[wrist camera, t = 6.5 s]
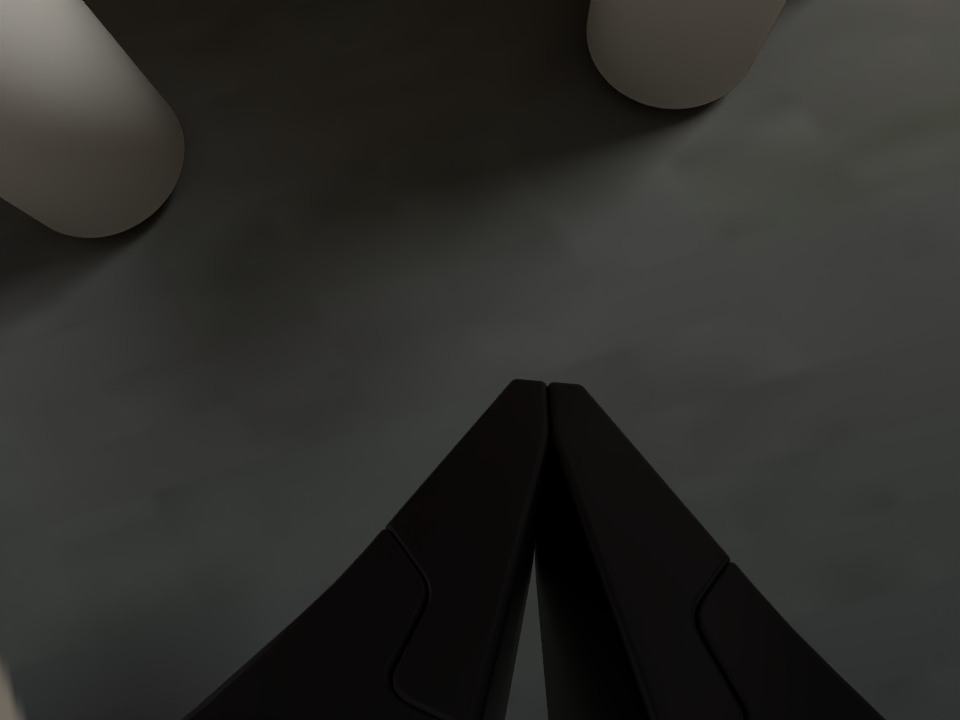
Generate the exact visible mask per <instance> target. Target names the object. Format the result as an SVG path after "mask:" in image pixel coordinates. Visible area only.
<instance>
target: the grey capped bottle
mask: <svg viewBox="0 0 960 720" xmlns="http://www.w3.org/2000/svg"><path fill="white" fill-rule="evenodd" d="M184 154H185V144H184V136H183V131H182V128H181V125H180V122H179V120H178V118H177V116H176V114H175V113H174V111H173V110H172V108H171V107H170V106H169V105H168V103H167V102H166V101H165V100H164V98H163V97H162V96H161V95H160V94H159V92H158V91H157V90H156V89H155V88H154V86H153V85H152V84H151V83H150V82H149V80H148V79H147V78H146V77H145V75H144V74H143V73H142V72H141V71H140V69H139V68H138V67H137V66H136V65H135V63H134V62H133V61H132V60H131V59H130V57H129V56H128V55H127V54H126V52H125V51H124V50H123V49H122V48H121V46H120V45H119V44H118V43H117V42H116V40H115V39H114V38H113V37H112V36H111V34H110V33H109V32H108V31H107V29H106V28H105V27H104V26H103V25H102V23H101V22H100V21H99V20H98V19H97V17H96V16H95V15H94V14H93V12H92V11H91V10H90V9H89V8H88V6H87V5H86V4H85V3H84V2H83V0H0V197H1V198H2V199H4V200H5V201H7V202H9V203H10V204H12V205H13V206H15V207H17V208H18V209H20V210H21V211H23V212H25V213H26V214H28V215H29V216H31V217H33V218H34V219H36V220H37V221H39V222H41V223H42V224H44V225H45V226H47V227H49V228H51V229H52V230H54V231H57V232H59V233H62V234H65V235H69V236H73V237H81V238H98V237H105V236H110V235H114V234H117V233H120V232H123V231H125V230H128V229H130V228H132V227H134V226H136V225H138V224H139V223H141V222H143V221H144V220H145V219H147V218H148V217H150V216H151V215H152V214H153V213H154V212H155V211H156V210H157V209H159V208H160V206H161V205H162V204H163V203H164V202H165V201H166V200H167V198H168V197H169V195H170V194H171V192H172V191H173V189H174V187H175V185H176V183H177V181H178V179H179V176H180V174H181V171H182V167H183V162H184Z"/></svg>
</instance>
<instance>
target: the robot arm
mask: <svg viewBox="0 0 960 720" xmlns="http://www.w3.org/2000/svg"><path fill="white" fill-rule="evenodd" d="M534 551H535V570H536V585H537V596H538V607H539V619H540V630H541V641H542V653H543V664H544V675H545V687H546V698H547V709H548V720H886V719H885V718H884V717H883V716H881V715H880V714H879V713H878V712H877V711H876V710H875V709H874V708H873V707H872V706H871V705H870V704H869V703H868V702H867V701H866V700H865V699H864V698H863V697H862V696H861V695H860V694H859V693H858V692H857V691H856V690H854V689H853V688H852V687H851V686H850V685H849V684H848V683H847V682H846V681H845V680H844V679H843V678H842V677H841V676H840V675H839V674H838V673H837V672H836V671H835V670H834V669H833V668H832V667H831V666H830V665H829V664H828V663H827V662H826V661H825V660H824V659H823V658H822V657H821V656H820V655H819V654H818V653H817V652H816V651H815V650H814V649H813V648H812V647H811V646H810V645H809V644H808V643H807V642H806V641H805V640H804V639H803V638H802V637H801V636H800V635H799V634H798V633H797V632H796V631H795V630H794V629H793V628H792V627H791V626H790V625H789V624H788V623H787V621H786V620H785V619H784V618H783V617H782V616H781V615H780V614H779V613H778V612H777V610H776V609H775V608H774V607H773V606H772V605H771V604H770V603H769V602H768V600H767V599H766V598H765V597H764V596H763V595H762V594H761V593H760V592H759V591H758V589H757V588H756V587H755V586H754V585H753V584H752V583H751V581H750V580H749V579H748V578H747V577H746V576H745V574H744V573H743V572H742V571H741V570H740V569H739V567H738V566H737V565H736V564H735V563H733V562H731V563H730V558H729V556H728V555H727V554H726V553H725V551H724V550H723V549H722V548H721V547H720V546H719V544H718V543H717V542H716V541H715V540H714V539H713V537H712V536H711V535H710V534H709V533H708V532H707V530H706V529H705V528H704V527H703V526H702V525H701V523H700V522H699V521H698V520H697V519H696V518H695V516H694V515H693V514H692V513H691V512H690V511H689V509H688V508H687V507H686V506H685V505H684V504H683V502H682V501H681V500H680V499H679V498H678V497H677V495H676V494H675V493H674V492H673V491H672V490H671V488H670V487H669V486H668V485H667V484H666V483H665V481H664V480H663V479H662V478H661V477H660V476H659V474H658V473H657V472H656V471H655V470H654V469H653V467H652V466H651V465H650V464H649V463H648V462H647V460H646V459H645V458H644V457H643V456H642V455H641V453H640V452H639V451H638V450H637V449H636V448H635V446H634V445H633V444H632V443H631V442H630V441H629V439H628V438H627V437H626V436H625V435H624V434H623V432H622V431H621V430H620V429H619V428H618V427H617V425H616V424H615V423H614V422H613V421H612V420H611V418H610V417H609V416H608V415H607V414H606V413H605V411H604V410H603V409H602V408H601V407H600V406H599V404H598V403H597V402H596V401H595V400H594V399H593V397H592V396H591V395H590V394H589V393H588V392H587V390H586V389H585V388H584V387H583V386H581V385H579V384H569V383H557V382H552V383H550V384H549V385H548V386H547V385H546V384H545V383H544V382H542V381H534V380H523V379H515V380H512V381H511V382H510V383H509V385H508V386H507V387H506V388H505V389H504V390H503V392H502V393H501V394H500V395H499V396H498V397H497V398H496V400H495V401H494V402H493V403H492V404H491V405H490V407H489V408H488V409H487V410H486V411H485V412H484V413H483V415H482V416H481V417H480V418H479V419H478V420H477V422H476V423H475V424H474V425H473V426H472V427H471V428H470V430H469V431H468V432H467V433H466V434H465V435H464V437H463V438H462V439H461V440H460V441H459V442H458V443H457V445H456V446H455V447H454V448H453V449H452V450H451V452H450V453H449V454H448V455H447V456H446V457H445V458H444V460H443V461H442V462H441V463H440V464H439V465H438V467H437V468H436V469H435V470H434V471H433V472H432V473H431V475H430V476H429V477H428V478H427V479H426V480H425V482H424V483H423V484H422V485H421V486H420V487H419V488H418V490H417V491H416V492H415V493H414V494H413V495H412V497H411V498H410V499H409V500H408V501H407V502H406V503H405V505H404V506H403V507H402V508H401V509H400V510H399V512H398V513H397V514H396V515H395V516H394V517H393V518H392V520H391V521H390V522H389V523H388V524H387V525H386V529H384V530H382V531H381V532H380V533H379V534H378V535H377V536H376V538H375V539H374V540H373V541H372V542H371V543H370V545H369V546H368V547H367V548H366V549H365V550H364V552H363V553H362V554H361V555H360V556H359V557H358V558H357V559H356V560H355V561H354V562H353V563H352V564H351V565H350V567H349V568H348V569H347V570H346V571H345V572H344V573H343V574H342V575H341V576H340V577H339V578H338V579H337V580H336V582H335V583H334V584H333V585H331V586H330V587H329V588H328V589H327V590H326V591H325V592H324V593H323V594H322V595H321V596H320V597H319V598H318V599H317V600H315V601H314V602H313V603H312V604H311V605H310V606H309V607H308V608H307V609H306V610H305V611H304V612H303V613H302V614H300V615H299V616H298V617H297V618H296V619H295V620H294V621H293V622H292V623H291V624H289V625H288V626H287V627H286V628H285V629H284V630H283V631H282V632H280V633H279V634H278V635H277V636H276V637H275V638H274V639H273V640H271V641H270V642H269V643H268V644H267V645H266V646H265V647H264V648H262V649H261V650H260V651H259V652H258V653H257V654H256V655H255V656H253V657H252V658H251V659H250V660H249V661H248V662H247V663H246V664H244V665H243V666H242V667H241V668H240V669H239V670H238V671H237V672H235V673H234V674H233V675H232V676H231V677H230V678H229V679H228V680H226V681H225V682H224V683H223V684H222V685H221V686H220V687H219V688H217V689H216V690H215V691H214V692H213V693H212V694H211V695H209V696H208V697H207V698H206V699H205V700H204V701H203V702H202V703H200V704H199V705H198V706H197V707H196V708H195V709H194V710H192V711H191V712H190V713H189V714H188V715H186V716H185V717H184V718H183V719H182V720H505V715H506V710H507V704H508V699H509V693H510V688H511V682H512V677H513V671H514V666H515V660H516V655H517V649H518V644H519V639H520V633H521V628H522V622H523V617H524V611H525V606H526V600H527V595H528V589H529V584H530V578H531V572H532V565H533V558H534Z"/></svg>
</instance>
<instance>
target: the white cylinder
mask: <svg viewBox="0 0 960 720" xmlns="http://www.w3.org/2000/svg"><path fill="white" fill-rule="evenodd" d="M786 1H787V0H591V1H590V7H589V14H588V20H587V29H586V32H587V43H588V48H589V52H590V54H591V57H592V60H593V62H594V64H595V65H596V67H597V69H598V70H599V72H600V73H601V75H602V76H603V77H604V78H605V79H606V80H607V81H608V83H609V84H610V85H612V86H613V87H614V88H615V89H616V90H618V91H619V92H620V93H622V94H624V95H625V96H627V97H628V98H631V99H633V100H635V101H637V102H639V103H642V104H645V105H648V106H653V107H657V108H665V109H686V108H692V107H697V106H701V105H704V104H707V103H710V102H712V101H715V100H717V99H719V98H720V97H722V96H724V95H726V94H727V93H728V92H730V91H731V90H732V89H733V88H735V87H736V86H737V85H738V84H739V83H740V82H741V81H742V79H743V78H744V77H745V75H746V74H747V73H748V71H749V69H750V67H751V66H752V64H753V62H754V60H755V58H756V56H757V55H758V53H759V51H760V49H761V47H762V45H763V43H764V42H765V40H766V38H767V36H768V34H769V32H770V31H771V29H772V27H773V25H774V23H775V21H776V20H777V18H778V16H779V14H780V12H781V10H782V8H783V7H784V5H785V3H786Z"/></svg>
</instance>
